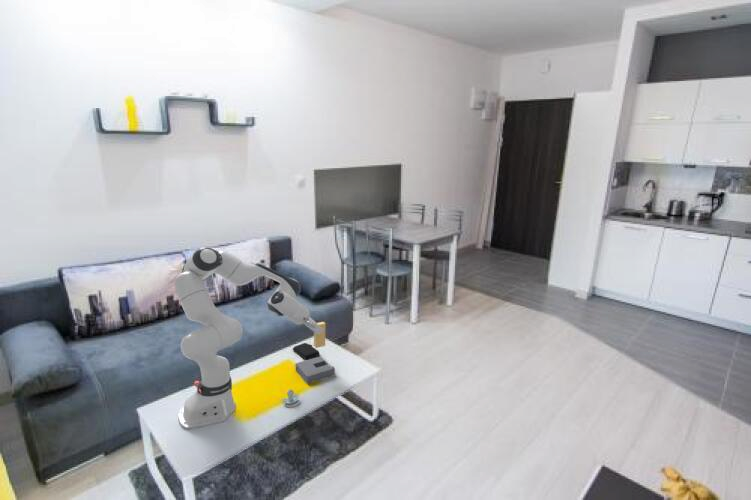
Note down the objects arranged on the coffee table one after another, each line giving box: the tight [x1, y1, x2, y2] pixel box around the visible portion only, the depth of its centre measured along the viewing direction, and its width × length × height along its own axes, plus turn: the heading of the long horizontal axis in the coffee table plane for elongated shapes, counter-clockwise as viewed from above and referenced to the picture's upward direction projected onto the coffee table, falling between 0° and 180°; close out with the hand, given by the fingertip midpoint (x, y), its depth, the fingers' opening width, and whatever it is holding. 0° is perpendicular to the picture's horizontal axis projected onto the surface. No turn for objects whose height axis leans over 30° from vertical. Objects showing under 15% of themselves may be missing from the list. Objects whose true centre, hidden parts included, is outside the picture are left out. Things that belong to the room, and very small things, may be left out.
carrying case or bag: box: [292, 342, 320, 361], centre depth 222 cm, size 11×3×15 cm
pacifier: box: [282, 389, 300, 408], centre depth 178 cm, size 7×6×6 cm
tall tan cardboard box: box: [313, 321, 326, 349], centre depth 198 cm, size 5×2×12 cm, turn 123°
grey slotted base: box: [295, 355, 336, 385], centre depth 202 cm, size 15×14×5 cm
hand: (318, 329), depth 198 cm, fingers closed on tall tan cardboard box, 2 cm apart
